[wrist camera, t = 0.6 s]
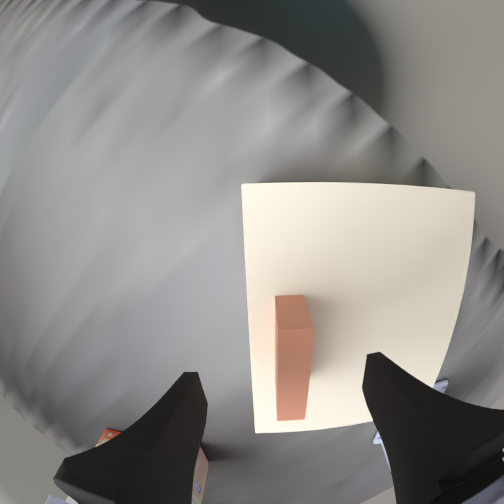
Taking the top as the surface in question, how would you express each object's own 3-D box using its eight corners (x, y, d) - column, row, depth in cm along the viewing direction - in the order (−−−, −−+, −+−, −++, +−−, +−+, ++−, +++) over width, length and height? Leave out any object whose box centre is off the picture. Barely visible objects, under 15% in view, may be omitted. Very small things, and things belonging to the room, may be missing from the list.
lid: (421, 403, 17) (438, 434, 13) (255, 427, 18) (253, 468, 14) (469, 191, 13) (512, 198, 9) (242, 183, 13) (234, 185, 10)
